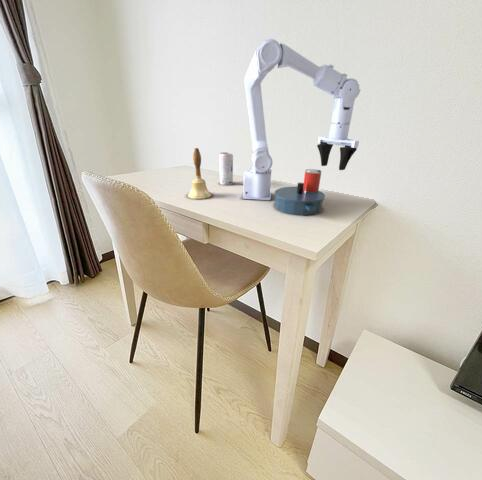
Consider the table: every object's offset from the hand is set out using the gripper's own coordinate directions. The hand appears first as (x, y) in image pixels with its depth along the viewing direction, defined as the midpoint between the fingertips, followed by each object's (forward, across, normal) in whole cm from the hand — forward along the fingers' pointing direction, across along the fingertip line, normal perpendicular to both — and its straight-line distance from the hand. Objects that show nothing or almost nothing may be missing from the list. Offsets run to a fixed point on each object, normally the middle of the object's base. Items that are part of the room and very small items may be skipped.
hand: (332, 167), depth 87 cm
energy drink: (+11, +34, +23) cm, 42 cm away
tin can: (+6, -2, +12) cm, 13 cm away
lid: (+6, -2, +16) cm, 18 cm away
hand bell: (+11, +24, +39) cm, 47 cm away
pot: (+10, -2, +16) cm, 20 cm away
